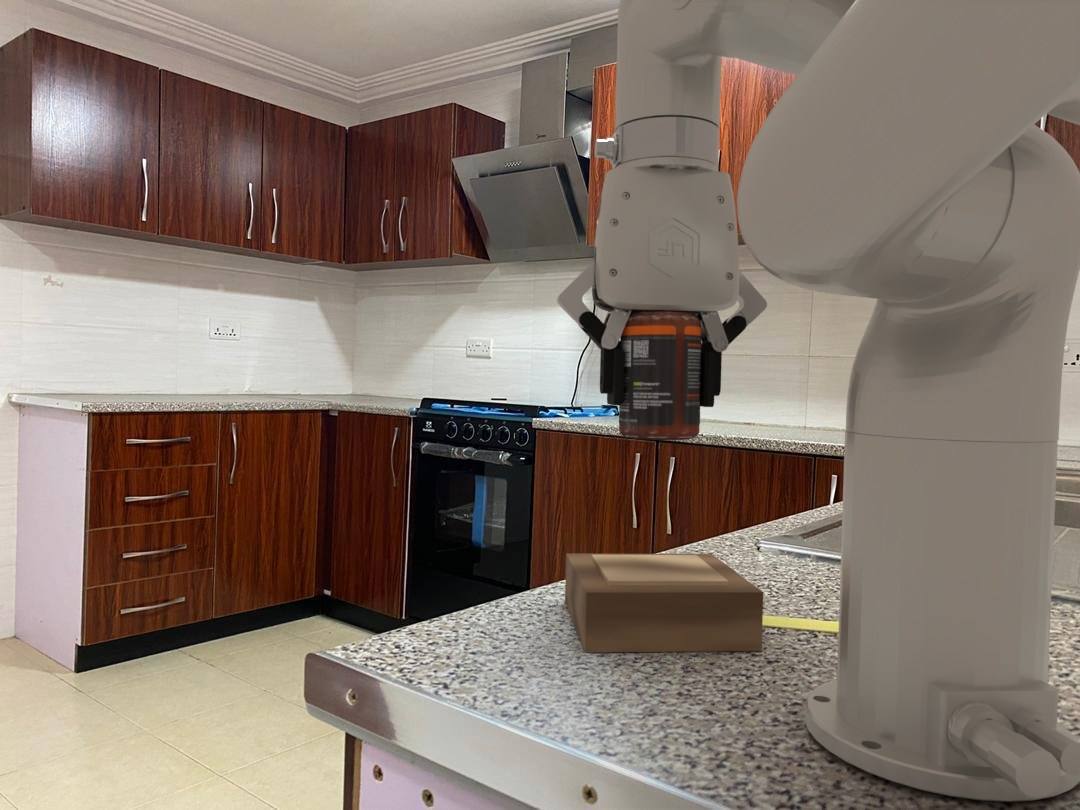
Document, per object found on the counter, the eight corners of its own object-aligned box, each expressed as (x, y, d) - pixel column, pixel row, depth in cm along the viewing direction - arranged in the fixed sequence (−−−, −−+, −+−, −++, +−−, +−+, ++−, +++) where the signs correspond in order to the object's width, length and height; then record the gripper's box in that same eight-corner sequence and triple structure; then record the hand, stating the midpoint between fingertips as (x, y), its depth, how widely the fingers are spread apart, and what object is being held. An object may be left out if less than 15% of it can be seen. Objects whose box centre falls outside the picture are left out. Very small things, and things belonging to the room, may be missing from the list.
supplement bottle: (695, 436, 63) (699, 289, 63) (703, 442, 57) (708, 279, 57) (617, 434, 64) (621, 288, 63) (617, 440, 58) (621, 278, 57)
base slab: (761, 651, 55) (763, 587, 55) (585, 652, 54) (586, 588, 54) (710, 602, 67) (711, 550, 67) (564, 602, 66) (566, 549, 66)
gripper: (553, 138, 55) (547, 405, 56) (801, 149, 57) (793, 409, 57) (543, 166, 63) (538, 401, 63) (763, 175, 64) (756, 405, 65)
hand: (659, 403), depth 60 cm, fingers closed on supplement bottle, 6 cm apart
